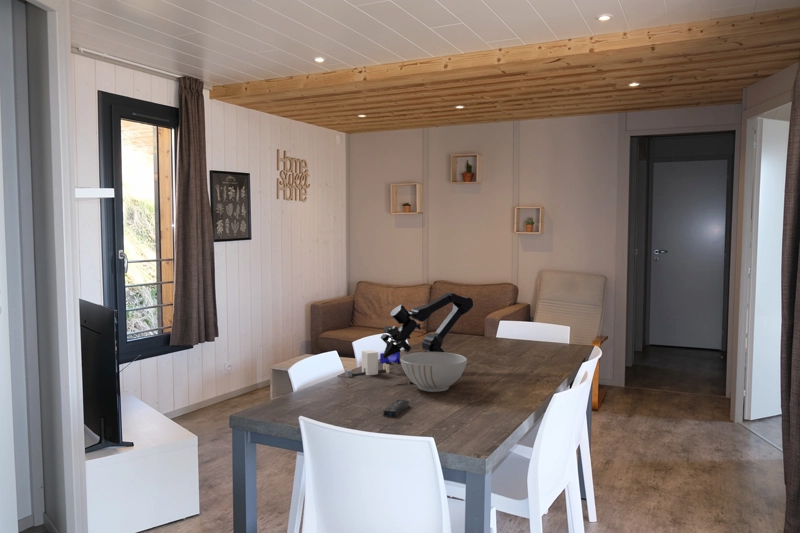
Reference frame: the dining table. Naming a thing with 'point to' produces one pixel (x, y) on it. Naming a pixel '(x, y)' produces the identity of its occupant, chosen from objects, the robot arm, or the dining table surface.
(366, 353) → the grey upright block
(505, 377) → the dining table surface
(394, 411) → the multiport hub
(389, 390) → the dining table surface
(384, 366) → the cord board
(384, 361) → the cable clip
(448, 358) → the decorative bowl
